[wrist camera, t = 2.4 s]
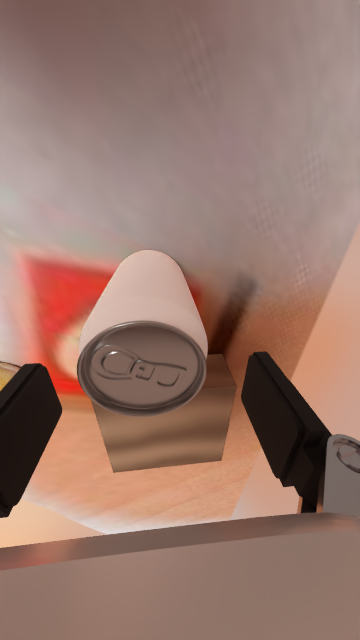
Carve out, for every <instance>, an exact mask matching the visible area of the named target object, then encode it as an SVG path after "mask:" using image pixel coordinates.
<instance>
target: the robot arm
mask: <svg viewBox="0 0 360 640" xmlns="http://www.w3.org/2000/svg"><path fill="white" fill-rule="evenodd" d="M241 399H242V403H243V405H244V407H245V410H246V412H247V414H248V416H249V419H250V421H251V423H252V426H253V428H254V430H255V433H256V435H257V437H258V439H259V442H260V444H261V446H262V449H263V451H264V453H265V455H266V458H267V460H268V462H269V465H270V467H271V469H272V472H273V474H274V475H275V477H276V478H279V479H280V481H281V483H282V485H283V487H289V486H294V487H295V489H296V491H297V493H298V495H299V503H298V510H297V514H290V515H279V516H267V517H256V518H247V519H239V520H230V521H221V522H212V523H204V524H195V525H186V526H177V527H169V528H161V529H152V530H144V531H135V532H127V533H119V534H110V535H102V536H94V537H86V538H78V539H69V540H61V541H54V542H46V543H38V544H30V545H21V546H14V547H6V548H0V640H360V441H358V440H356V439H354V438H352V437H349V436H346V435H341V434H336V435H332V434H331V433H330V432H329V430H328V429H327V428H326V427H325V425H324V424H323V423H322V422H321V420H320V419H319V418H318V416H317V415H316V414H315V412H314V411H313V410H312V408H310V406H309V405H308V403H307V402H306V401H305V399H304V398H303V397H302V396H301V394H300V393H299V392H298V390H297V389H296V388H295V386H294V385H293V384H292V383H291V382H290V381H289V380H288V379H287V377H286V376H285V375H284V373H283V372H282V371H281V369H280V368H279V367H278V366H277V364H276V363H275V362H274V360H273V359H272V358H271V356H270V355H269V354H268V353H267V352H254V353H253V354H252V355H250V356H249V360H248V364H247V369H246V374H245V379H244V384H243V389H242V394H241ZM61 414H62V406H61V404H60V401H59V399H58V396H57V393H56V391H55V388H54V386H53V383H52V381H51V378H50V376H49V373H48V370H47V368H46V367H45V366H43V365H42V364H40V363H35V364H25V365H23V366H22V367H21V368H20V369H19V370H18V372H17V373H16V374H15V375H14V376H13V377H12V378H11V379H10V381H9V382H8V383H7V384H6V385H5V386H4V387H3V388H2V390H1V391H0V518H3V517H8V516H9V514H10V512H11V510H12V508H13V506H15V505H17V504H18V502H19V501H20V499H21V497H22V495H23V493H24V491H25V489H26V487H27V485H28V483H29V481H30V479H31V477H32V474H33V472H34V470H35V468H36V466H37V464H38V462H39V460H40V458H41V456H42V454H43V452H44V450H45V448H46V445H47V443H48V441H49V439H50V437H51V435H52V433H53V431H54V429H55V427H56V425H57V423H58V421H59V419H60V416H61Z"/></svg>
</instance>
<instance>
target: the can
mask: <svg viewBox="0 0 360 640" xmlns="http://www.w3.org/2000/svg"><path fill="white" fill-rule="evenodd" d="M207 352H208V343H207V337H206V333H205V330H204V326H203V324H202V321H201V318H200V316H199V313H198V310H197V308H196V305H195V303H194V300H193V297H192V295H191V292H190V290H189V287H188V285H187V282H186V280H185V277H184V275H183V273H182V271H181V269H180V267H179V266H178V264H177V263H176V262H175V261H174V260H173V259H172V258H171V257H169V256H168V255H166V254H164V253H162V252H158V251H154V250H143V251H139V252H136V253H133V254H131V255H130V256H128V257H127V258H126V259H124V260H123V261H122V262H121V264H120V265H119V266H118V268H117V269H116V271H115V273H114V274H113V276H112V278H111V279H110V281H109V283H108V284H107V286H106V288H105V290H104V291H103V293H102V295H101V296H100V298H99V300H98V302H97V303H96V305H95V307H94V308H93V310H92V312H91V314H90V316H89V317H88V319H87V321H86V323H85V325H84V327H83V330H82V333H81V336H80V340H79V355H80V356H79V359H78V363H77V376H78V380H79V383H80V385H81V387H82V389H83V391H84V392H85V393H86V395H87V396H88V397H89V398H90V399H91V400H92V401H93V402H95V403H96V404H97V405H99V406H101V407H102V408H104V409H106V410H108V411H111V412H113V413H117V414H120V415H125V416H131V417H151V416H158V415H162V414H166V413H169V412H172V411H174V410H176V409H178V408H180V407H182V406H184V405H185V404H187V403H188V402H189V401H190V400H192V399H193V398H194V397H195V396H196V395H197V393H198V392H199V391H200V389H201V388H202V386H203V384H204V381H205V378H206V373H207V364H206V358H207Z"/></svg>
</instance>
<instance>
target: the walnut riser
mask: <svg viewBox="0 0 360 640" xmlns="http://www.w3.org/2000/svg"><path fill="white" fill-rule="evenodd" d="M206 364H207V373H206V378H205V381H204V384H203V386H202V388H201V389H200V391H199V392H198V393H197V395H196V396H195V397H194V398H193V399H192V400H190V401H189V402H188V403H187V404H185V405H184V406H182V407H180V408H178V409H176V410H174V411H172V412H169V413H166V414H162V415H158V416H151V417H131V416H125V415H120V414H117V413H113V412H111V411H108V410H106V409H104V408H102V407H101V406H99V405H97V404H96V403H95V402H93V401H92V400H91V401H92V404H93V408H94V411H95V414H96V417H97V421H98V424H99V427H100V430H101V434H102V437H103V440H104V443H105V447H106V450H107V453H108V456H109V460H110V463H111V466H112V469H113V473H115V472H124V471H133V470H142V469H151V468H160V467H169V466H178V465H187V464H196V463H205V462H214V461H221V460H222V455H223V450H224V445H225V440H226V436H227V431H228V426H229V421H230V416H231V411H232V406H233V401H234V396H235V391H236V384H235V381H234V379H233V377H232V375H231V372H230V370H229V368H228V366H227V363H226V361H225V359H224V357H223V354H213V355H207V358H206Z"/></svg>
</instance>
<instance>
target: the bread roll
mask: <svg viewBox="0 0 360 640" xmlns="http://www.w3.org/2000/svg"><path fill="white" fill-rule="evenodd" d="M19 369H20V368H19V367H16V366H14V365H11V364H7V363H1V362H0V391H1V390H2V388H3V387H4V386H5V385H6V384H7V383H8V382H9V381H10V379H11V378H12V377H13V376H14V375H15V374H16V373H17V372H18V370H19Z"/></svg>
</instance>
